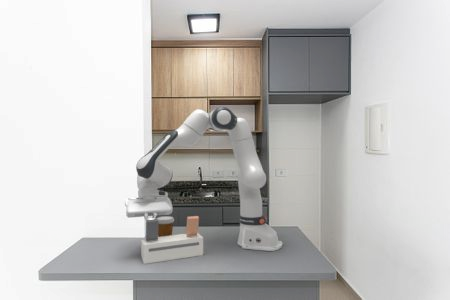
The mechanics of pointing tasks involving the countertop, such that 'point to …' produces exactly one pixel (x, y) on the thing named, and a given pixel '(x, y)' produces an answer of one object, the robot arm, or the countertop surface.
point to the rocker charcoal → (152, 229)
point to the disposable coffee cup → (165, 226)
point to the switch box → (171, 248)
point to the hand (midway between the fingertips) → (151, 223)
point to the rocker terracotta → (192, 225)
